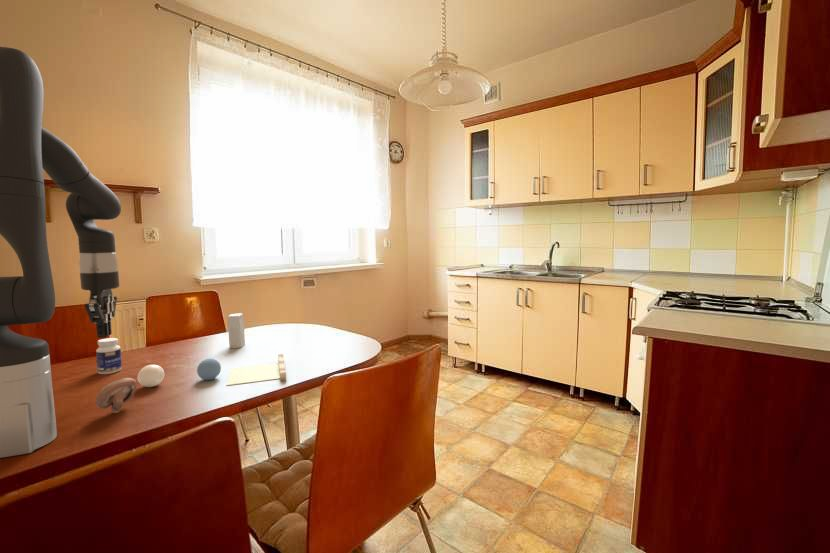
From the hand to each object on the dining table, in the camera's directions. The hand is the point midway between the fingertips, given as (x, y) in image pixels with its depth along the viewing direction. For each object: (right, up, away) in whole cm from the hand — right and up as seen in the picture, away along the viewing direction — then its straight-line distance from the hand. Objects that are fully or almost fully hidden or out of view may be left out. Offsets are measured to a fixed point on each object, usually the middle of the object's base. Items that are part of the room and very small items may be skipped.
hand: (104, 336), depth 96 cm
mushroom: (+12, -16, -10) cm, 22 cm away
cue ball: (+9, -12, +5) cm, 15 cm away
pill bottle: (-12, -14, +16) cm, 24 cm away
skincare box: (+13, -11, +44) cm, 47 cm away
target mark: (+33, -14, +15) cm, 39 cm away
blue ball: (+22, -11, +10) cm, 26 cm away
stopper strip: (+40, -14, +18) cm, 46 cm away
